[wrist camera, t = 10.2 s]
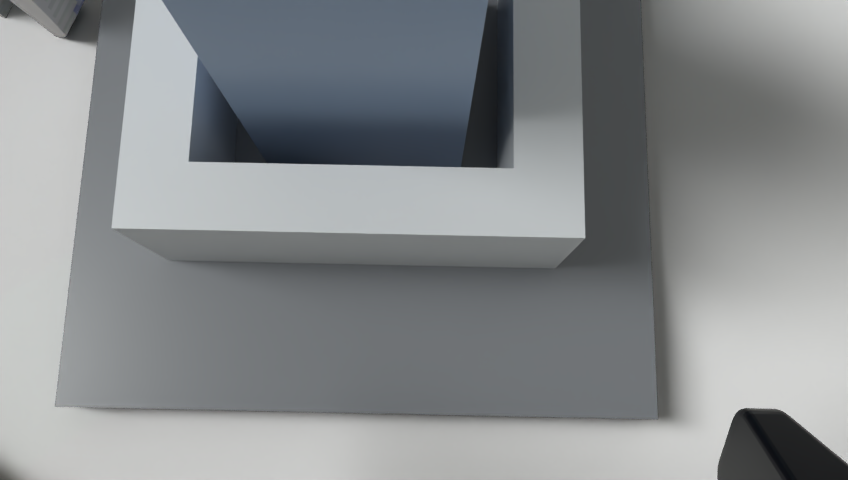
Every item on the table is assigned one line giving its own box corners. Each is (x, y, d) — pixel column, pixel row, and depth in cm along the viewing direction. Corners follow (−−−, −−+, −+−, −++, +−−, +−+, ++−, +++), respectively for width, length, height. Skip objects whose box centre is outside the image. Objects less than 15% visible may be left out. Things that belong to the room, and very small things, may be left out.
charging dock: (646, 418, 16) (713, 423, 12) (72, 405, 16) (-33, 407, 12) (624, -164, 19) (673, -303, 15) (138, -174, 19) (68, -315, 15)
